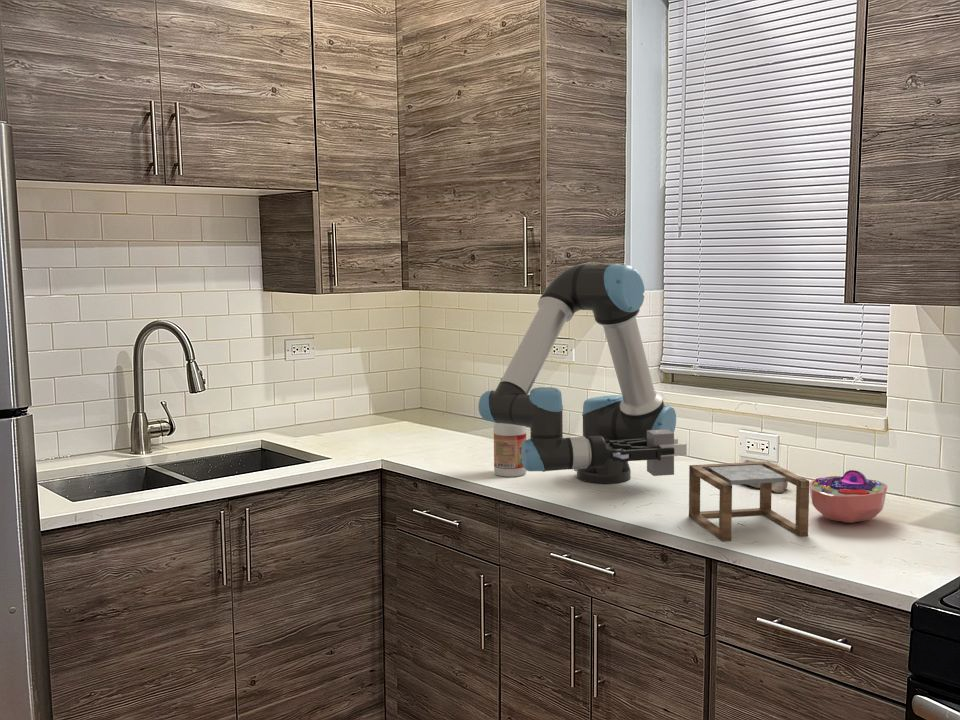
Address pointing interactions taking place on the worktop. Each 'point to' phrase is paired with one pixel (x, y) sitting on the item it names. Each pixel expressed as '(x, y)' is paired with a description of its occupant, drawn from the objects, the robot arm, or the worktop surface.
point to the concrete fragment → (776, 486)
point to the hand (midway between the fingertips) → (681, 446)
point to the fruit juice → (508, 449)
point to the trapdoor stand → (726, 509)
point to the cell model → (848, 497)
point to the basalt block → (665, 463)
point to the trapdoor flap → (746, 474)
